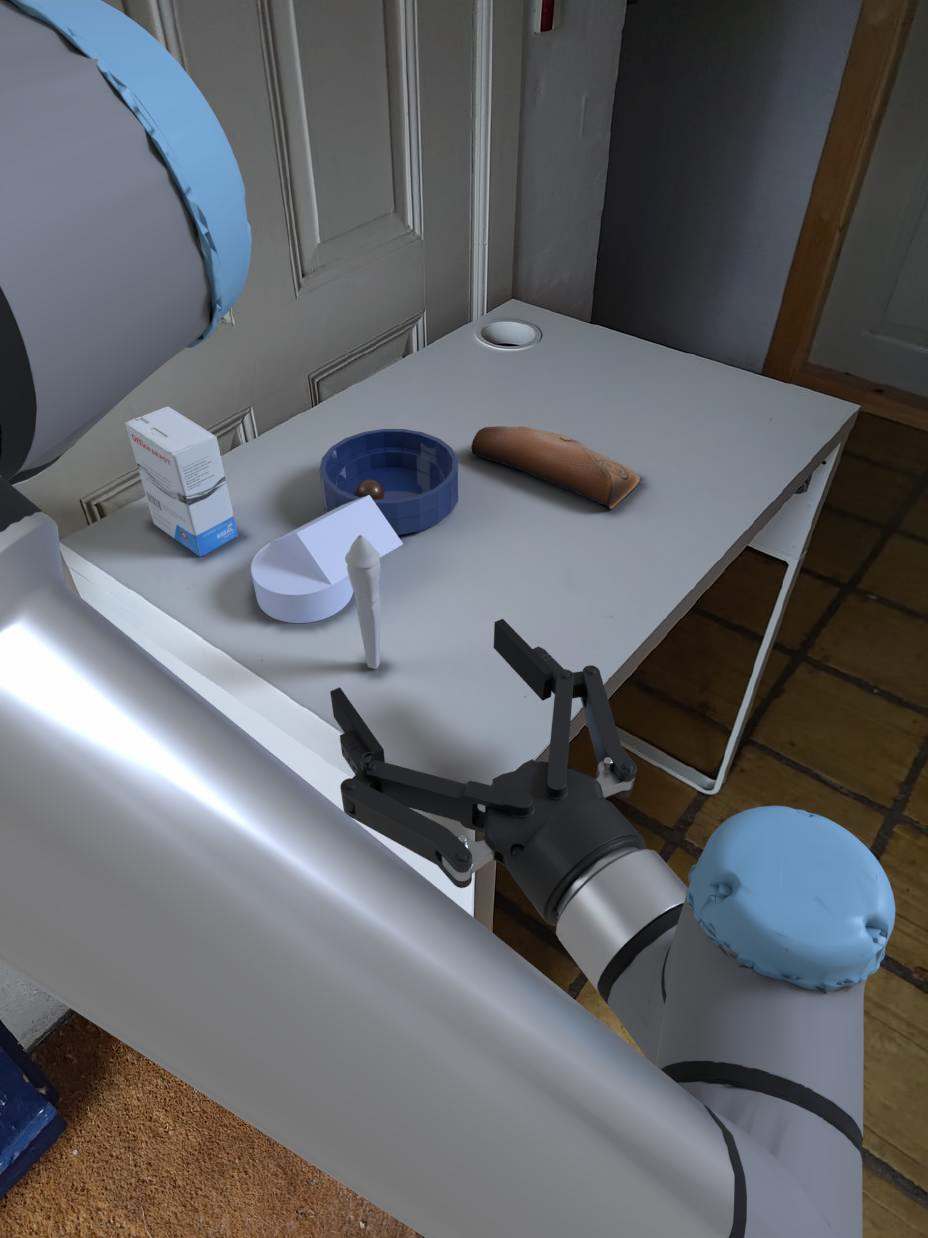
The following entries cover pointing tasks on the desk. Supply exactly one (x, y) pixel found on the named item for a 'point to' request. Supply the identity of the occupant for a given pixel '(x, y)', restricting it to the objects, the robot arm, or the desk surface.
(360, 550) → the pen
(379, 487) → the ball
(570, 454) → the sunglasses case
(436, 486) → the bowl
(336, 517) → the wedge on round base
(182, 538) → the ink box
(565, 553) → the desk surface
